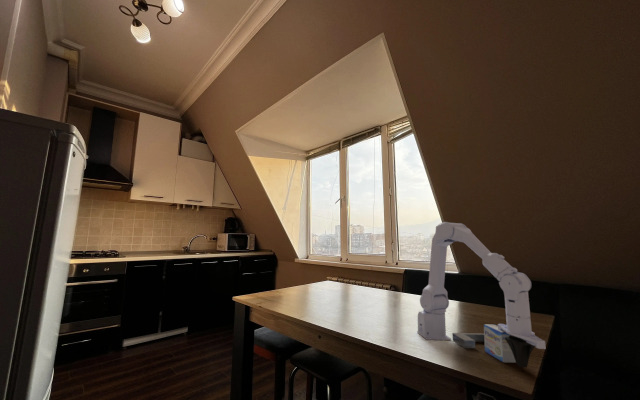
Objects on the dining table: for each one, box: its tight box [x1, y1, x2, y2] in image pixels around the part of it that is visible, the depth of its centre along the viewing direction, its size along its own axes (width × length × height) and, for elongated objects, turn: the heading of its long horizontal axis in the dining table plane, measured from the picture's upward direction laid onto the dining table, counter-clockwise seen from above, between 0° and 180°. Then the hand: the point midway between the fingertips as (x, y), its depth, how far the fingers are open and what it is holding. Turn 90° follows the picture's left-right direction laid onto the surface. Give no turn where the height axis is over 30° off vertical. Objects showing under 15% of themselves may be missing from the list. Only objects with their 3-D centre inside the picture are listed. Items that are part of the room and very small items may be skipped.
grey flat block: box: [452, 332, 485, 349], centre depth 92 cm, size 15×7×2 cm, turn 93°
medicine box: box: [483, 323, 516, 364], centre depth 83 cm, size 8×4×9 cm, turn 5°
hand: (521, 366), depth 74 cm, fingers closed
